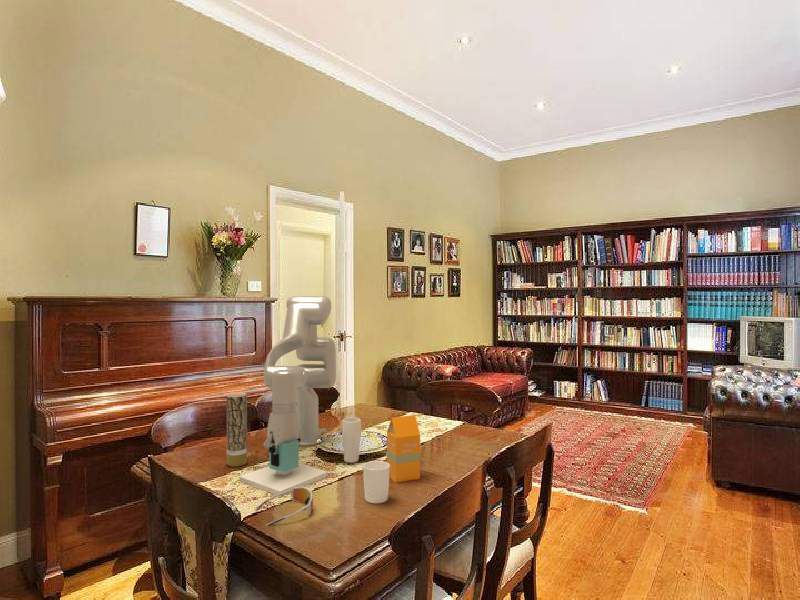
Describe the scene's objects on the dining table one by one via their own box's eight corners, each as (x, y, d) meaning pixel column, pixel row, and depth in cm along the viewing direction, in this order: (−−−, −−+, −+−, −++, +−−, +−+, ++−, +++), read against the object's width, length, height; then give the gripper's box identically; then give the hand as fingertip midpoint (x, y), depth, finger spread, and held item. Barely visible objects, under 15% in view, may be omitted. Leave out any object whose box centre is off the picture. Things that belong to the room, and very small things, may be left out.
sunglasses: (322, 514, 135) (320, 497, 134) (269, 537, 127) (266, 519, 126) (302, 496, 147) (300, 481, 146) (252, 516, 138) (250, 499, 138)
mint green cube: (285, 462, 165) (285, 437, 165) (298, 466, 161) (298, 440, 161) (269, 468, 159) (269, 441, 159) (282, 472, 156) (282, 445, 155)
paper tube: (240, 468, 170) (240, 396, 170) (222, 466, 171) (222, 395, 171) (250, 461, 176) (250, 392, 176) (233, 460, 178) (233, 391, 178)
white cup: (379, 506, 140) (380, 471, 139) (357, 500, 144) (357, 466, 144) (394, 497, 146) (394, 463, 146) (373, 491, 150) (373, 459, 150)
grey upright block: (284, 471, 163) (284, 453, 163) (292, 473, 161) (292, 455, 161) (275, 474, 160) (275, 456, 160) (283, 477, 158) (283, 458, 158)
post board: (287, 463, 174) (287, 459, 174) (327, 476, 162) (327, 471, 162) (239, 480, 158) (239, 476, 158) (280, 496, 146) (280, 491, 146)
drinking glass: (363, 458, 180) (363, 418, 180) (356, 465, 173) (356, 422, 173) (346, 456, 182) (347, 416, 182) (338, 462, 176) (338, 421, 175)
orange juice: (386, 474, 165) (386, 415, 164) (410, 470, 168) (410, 412, 168) (395, 482, 157) (395, 420, 157) (420, 478, 161) (420, 417, 161)
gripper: (296, 401, 169) (296, 453, 169) (254, 411, 155) (254, 467, 155) (311, 404, 165) (311, 458, 165) (270, 414, 151) (269, 472, 151)
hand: (283, 462), depth 160 cm, fingers closed on mint green cube, 6 cm apart
